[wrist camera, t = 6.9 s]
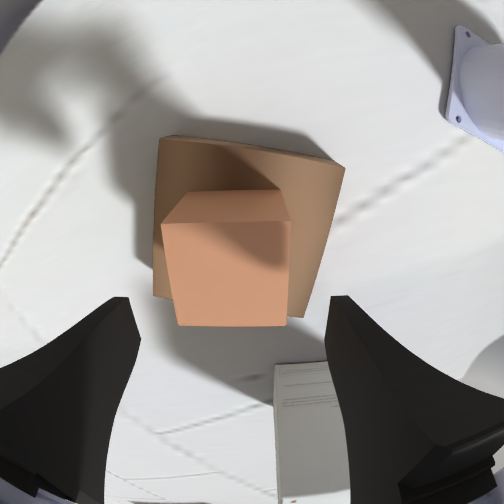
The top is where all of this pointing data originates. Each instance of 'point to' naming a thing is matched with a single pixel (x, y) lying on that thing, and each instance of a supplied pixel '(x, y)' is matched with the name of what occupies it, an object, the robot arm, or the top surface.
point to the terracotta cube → (229, 258)
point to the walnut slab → (251, 178)
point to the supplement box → (309, 436)
